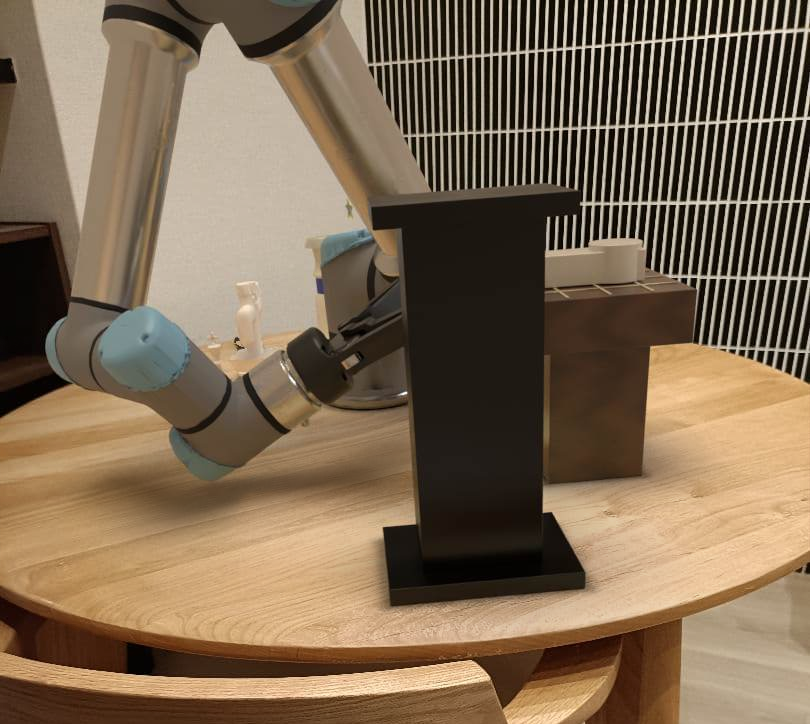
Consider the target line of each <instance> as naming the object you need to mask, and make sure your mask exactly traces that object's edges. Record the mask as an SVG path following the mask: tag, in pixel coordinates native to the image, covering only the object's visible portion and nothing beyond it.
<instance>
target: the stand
mask: <svg viewBox="0 0 810 724" xmlns="http://www.w3.org/2000/svg"><path fill="white" fill-rule="evenodd" d="M581 193H582V191H581V190H580V189H575V188H571V187H567V186H561V185H557V184H552V183H548V182H544V183H542V182H541V183H530V184H519V185H517V184H516V185H506V186H503V185H502V186H492V187H491V186H490V187H479V188H467V189H466V188H465V189H451V190H440V191H439V190H438V191H431V192H425V193H411V194H398V195H385V196H372V197H367V205H368V217H369V220H370V223H371V226H372V229H373V231H375V230H388V229H396V235H397V250H398V265H399V280H400V295H401V310H402V324H403V339H404V354H405V369H406V384H407V399H408V403H407V411H408V412H407V413H408V425H409V426H408V429H409V442H410V456H411V457H410V458H411V470H412V472H411V474H412V487H413V501H414V502H413V503H414V517H415V523H413V524H411V523H410V524H401V525H390V526H389V525H388V526H382V535H383V536H382V539H383V547H384V557H385V567H386V577H387V587H388V596H389V597H388V598H389V605H390V606H392V607H393V606H402V605H414V604H424V603H425V604H427V603H437V602H446V601H456V600H457V601H458V600H468V599H469V600H470V599H479V598H490V597H500V596H502V597H503V596H511V595H522V594H533V593H543V592H544V593H545V592H554V591H564V590H565V591H566V590H575V589H585V588H586V575H587V574H586V570H585V568H584V567H583V565H582V564H581V561H580V560H579V557H578V556H577V554H576V552H575V551H574V549H573V547H572V545H571V543H570V541H569V540H568V538H567V537H566V534H565V533H564V531H563V529H562V527H561V526H560V524H559V522H558V520H557V518H556V517H555V515H554V513H553V512H552V511H547V512H546V511H545V512H544V474H543V442H544V336H545V251H546V227H547V226H546V223H547V221H546V220H547V218H554V217H567V216H579V215H581V197H582V196H581V195H582V194H581Z"/></svg>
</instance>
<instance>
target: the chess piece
mask: <svg viewBox="0 0 810 724" xmlns="http://www.w3.org/2000/svg"><path fill="white" fill-rule="evenodd" d="M209 333H210V336H206V341H207V342H208V341H211V344H208V345H207V350H208V351H209V353H210V356H211V358H212V359H211V361H212V362H213V363H214V364H215V365H216V366H217V367H218V368H219V369H220V370H221V371H222V372H224V371H223V368H222V365H223V364H224V363H225V360H224V359H222V358H221V353H222V344H220V343H217V342H216V341H217V340H220V335H215V332H214V331H211V332H209Z"/></svg>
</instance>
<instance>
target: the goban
mask: <svg viewBox="0 0 810 724" xmlns="http://www.w3.org/2000/svg"><path fill="white" fill-rule="evenodd" d="M697 299H698V289H697V288H695V287H693V286H692V285H691V286H690V285H688V284H687V283H684V282H682V281H679V280H676V279H674V278H673V277H672V278H671V277H670V276H667V275H665V274H663V273H660V272H658V271H655V270H653V269H650V268H648V267H646V266H645V277H644V280H643V281H634V282H629V283H620V284H593V285H581V286H568V287H556V288H545V336H544V442H543V477H544V478H545V480H546V481H547V483H548V484H559V483H560V484H562V483H571V482H583V481H594V480H605V479H618V478H628V477H639V476H640V477H641V476H643V465H644V464H643V463H644V462H643V461H644V448H645V447H644V446H645V436H646V435H645V434H646V419H647V417H646V416H647V402H648V390H649V389H648V388H649V373H650V360H651V359H650V358H651V347H660V346H661V347H662V346H675V345H684V344H693V342H694V333H695V320H696V309H697Z"/></svg>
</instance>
